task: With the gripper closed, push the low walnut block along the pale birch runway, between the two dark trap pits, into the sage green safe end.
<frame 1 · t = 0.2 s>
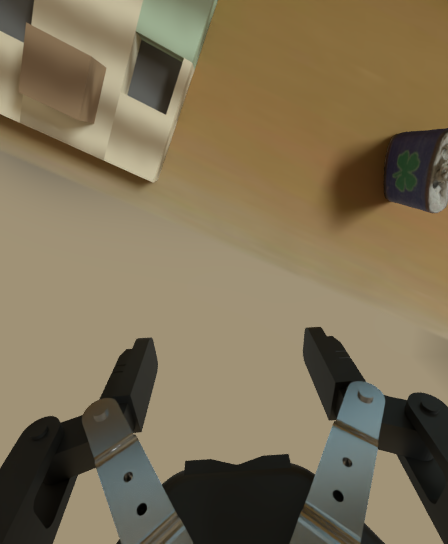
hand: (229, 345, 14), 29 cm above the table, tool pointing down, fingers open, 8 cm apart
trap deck: (95, 40, 31), on the table
walnut block: (73, 83, 30), point 3 cm above the table, touching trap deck
flask: (393, 168, 38), on the table
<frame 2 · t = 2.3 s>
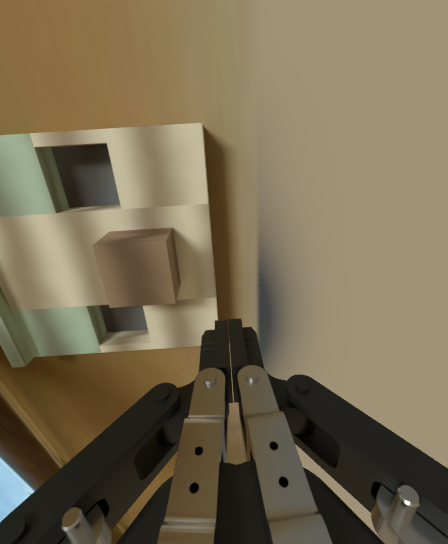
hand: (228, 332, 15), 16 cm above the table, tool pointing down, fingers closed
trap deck: (106, 251, 29), on the table
walnut block: (147, 258, 26), point 3 cm above the table, touching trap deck
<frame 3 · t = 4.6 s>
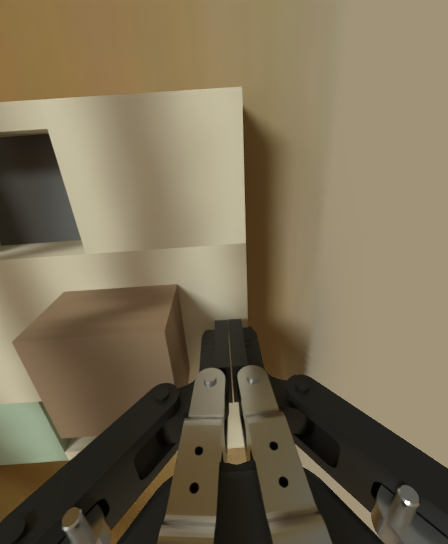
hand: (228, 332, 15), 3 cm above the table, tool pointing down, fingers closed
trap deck: (70, 310, 18), on the table
walnut block: (132, 333, 15), point 3 cm above the table, touching gripper
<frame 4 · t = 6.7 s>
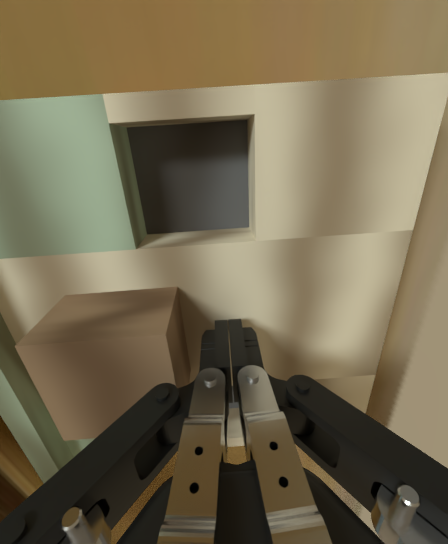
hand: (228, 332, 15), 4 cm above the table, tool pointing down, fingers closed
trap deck: (194, 300, 18), on the table
walnut block: (133, 335, 15), point 3 cm above the table, touching gripper, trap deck
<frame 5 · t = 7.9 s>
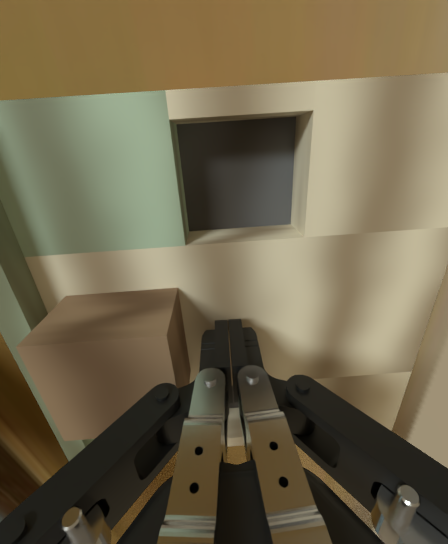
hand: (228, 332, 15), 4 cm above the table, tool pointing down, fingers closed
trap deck: (230, 297, 18), on the table
walnut block: (133, 336, 15), point 3 cm above the table, touching gripper
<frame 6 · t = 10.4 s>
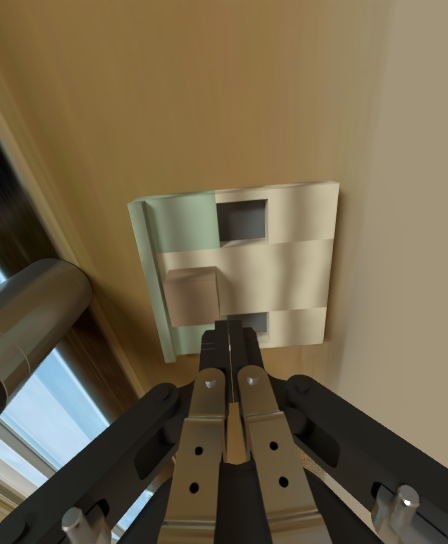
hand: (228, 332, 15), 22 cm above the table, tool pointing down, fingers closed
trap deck: (238, 272, 37), on the table
walnut block: (195, 288, 35), point 3 cm above the table, touching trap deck
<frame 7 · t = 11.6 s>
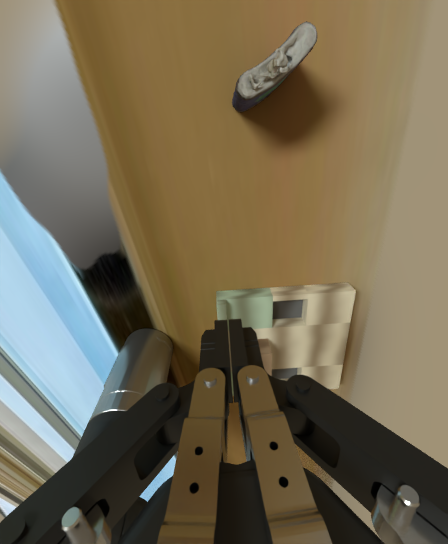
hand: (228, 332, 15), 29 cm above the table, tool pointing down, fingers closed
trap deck: (280, 338, 52), on the table
walnut block: (251, 352, 49), point 3 cm above the table, touching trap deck
flask: (262, 84, 34), on the table
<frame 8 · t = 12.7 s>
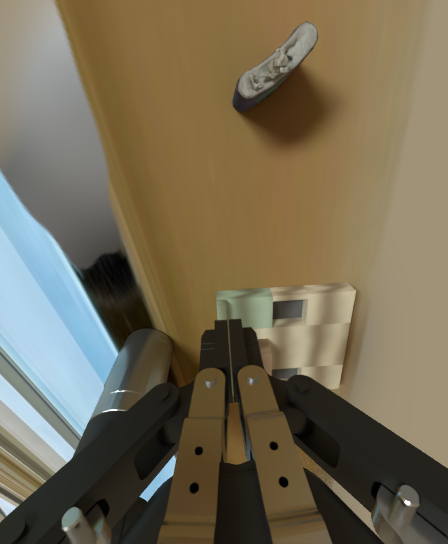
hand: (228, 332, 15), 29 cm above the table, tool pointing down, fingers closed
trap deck: (280, 338, 52), on the table
walnut block: (251, 352, 49), point 3 cm above the table, touching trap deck
flask: (262, 84, 34), on the table
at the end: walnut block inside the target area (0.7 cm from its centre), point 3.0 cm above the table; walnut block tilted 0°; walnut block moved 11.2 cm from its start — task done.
